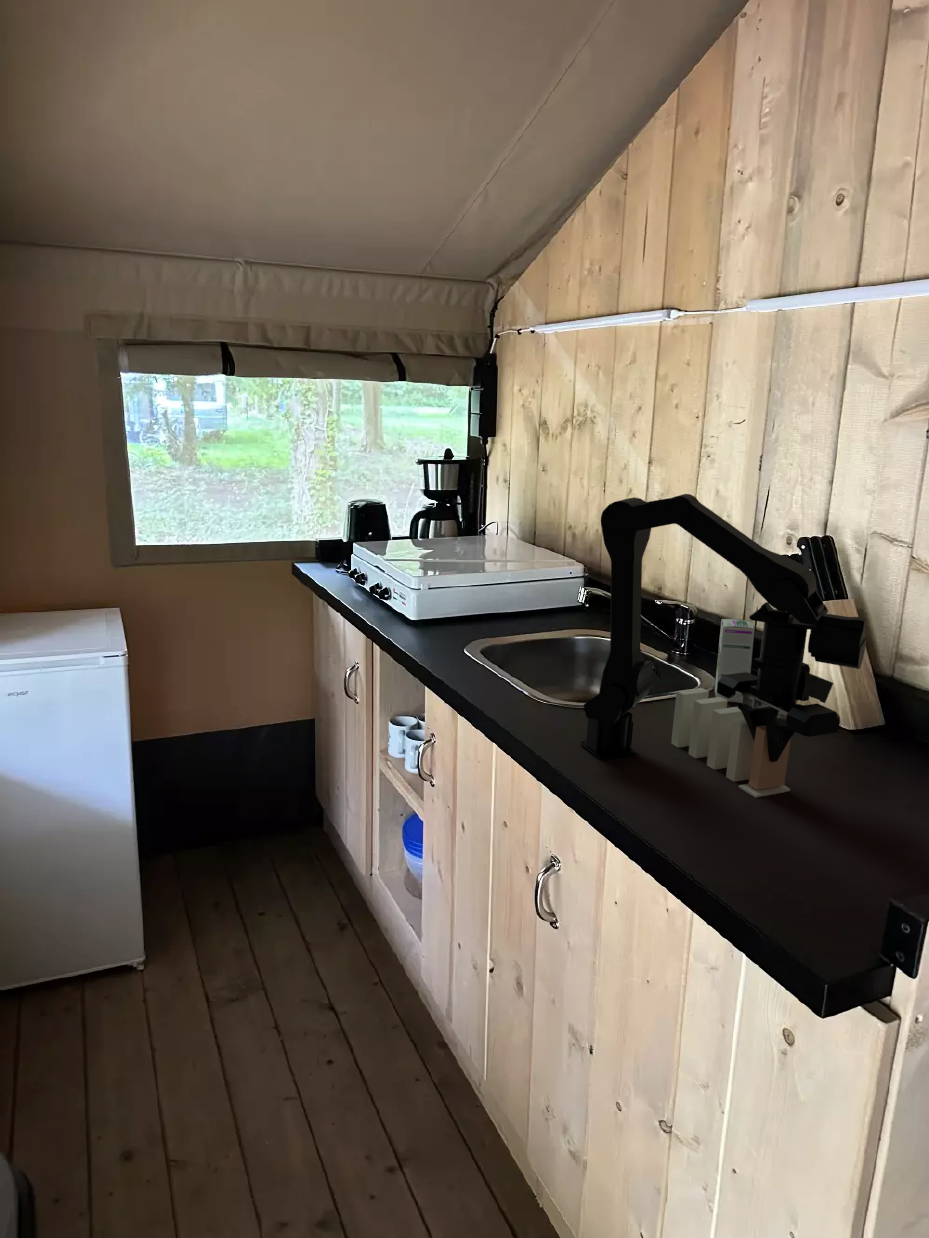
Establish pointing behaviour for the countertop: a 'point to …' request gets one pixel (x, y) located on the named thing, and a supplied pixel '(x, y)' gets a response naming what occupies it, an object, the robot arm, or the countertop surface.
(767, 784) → the domino
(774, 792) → the plate
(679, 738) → the domino
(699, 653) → the countertop surface
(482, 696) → the countertop surface
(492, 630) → the countertop surface
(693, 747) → the domino
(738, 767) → the domino
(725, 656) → the syrup box
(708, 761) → the domino
